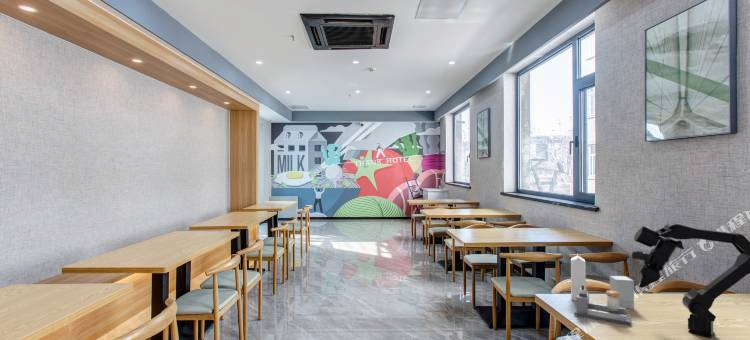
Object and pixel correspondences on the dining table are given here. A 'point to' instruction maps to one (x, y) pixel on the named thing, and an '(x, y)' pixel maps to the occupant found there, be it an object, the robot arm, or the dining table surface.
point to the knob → (613, 301)
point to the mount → (600, 311)
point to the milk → (577, 275)
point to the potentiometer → (582, 291)
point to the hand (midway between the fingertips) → (641, 283)
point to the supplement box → (623, 290)
